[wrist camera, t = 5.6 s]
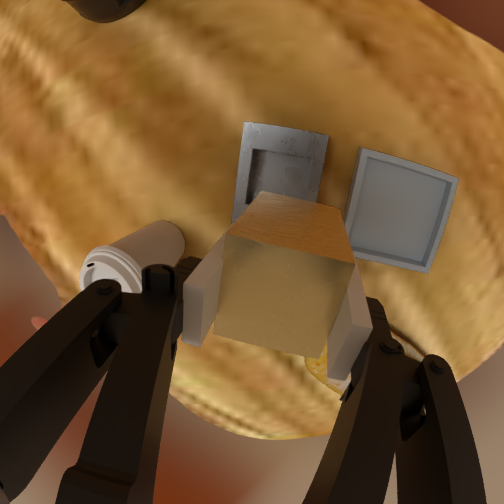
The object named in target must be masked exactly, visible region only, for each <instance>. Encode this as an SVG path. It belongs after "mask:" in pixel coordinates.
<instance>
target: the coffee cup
mask: <svg viewBox="0 0 504 504" xmlns="http://www.w3.org/2000/svg"><path fill="white" fill-rule="evenodd" d="M184 250H185V240H184V237H183V234H182V233H181V231H180V230H179V229H178V227H176V226H175V225H174V224H172V223H171V222H168V221H163V220H161V221H156V222H154V223H152V224H150V225H148V226H146V227H144V228H142V229H140V230H138V231H136V232H134V233H132V234H130V235H128V236H126V237H124V238H122V239H120V240H118V241H116V242H114V243H112V244H110V245H108V246H99V247H96V248H94V249H93V250H91V251H90V253H89V254H88V255H87V257H86V258H85V261H84V263H83V266H82V269H81V271H80V275H79V283H80V288H81V291H83V290H84V289H85V288H86V287H87V286H89V285H90V284H91V283H93V282H94V281H96V280H100V279H113V280H116V281H118V282H119V283H120V284H121V287H122V292H129V293H141V292H142V278H141V270H142V269H143V268H144V267H146V266H149V265H152V264H166V265H170V266H172V267H174V266H175V265H176V263H177V262H178V261H179V259H180V258H181V256H182V255H183V253H184Z"/></svg>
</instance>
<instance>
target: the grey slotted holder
mask: <svg viewBox="0 0 504 504" xmlns="http://www.w3.org/2000/svg"><path fill="white" fill-rule="evenodd" d="M328 138H329V135H325V134H320V133H315V132H310V131H305V130H300V129H294V128H288V127H282V126H276V125H269V124H263V123H255V122H245V121H244V127H243V135H242V142H241V150H240V157H239V165H238V173H237V181H236V189H235V197H234V206H233V214H232V223H231V225H232V224H233V223H235V222H236V220H237V219H238V218H239V217H240V216H241V214H242V213H243V212H244V211H245V210H246V208H247V207H248V206H249V205H250V204H251V202H252V201H253V200H254V199H255V198H256V196H257V195H258V194H259V193H260V192H261V191H265V192H270V193H275V194H280V195H284V196H289V197H293V198H298V199H302V200H306V201H311V202H315V203H316V201H317V196H318V191H319V186H320V181H321V176H322V170H323V165H324V160H325V155H326V149H327V144H328Z"/></svg>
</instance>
